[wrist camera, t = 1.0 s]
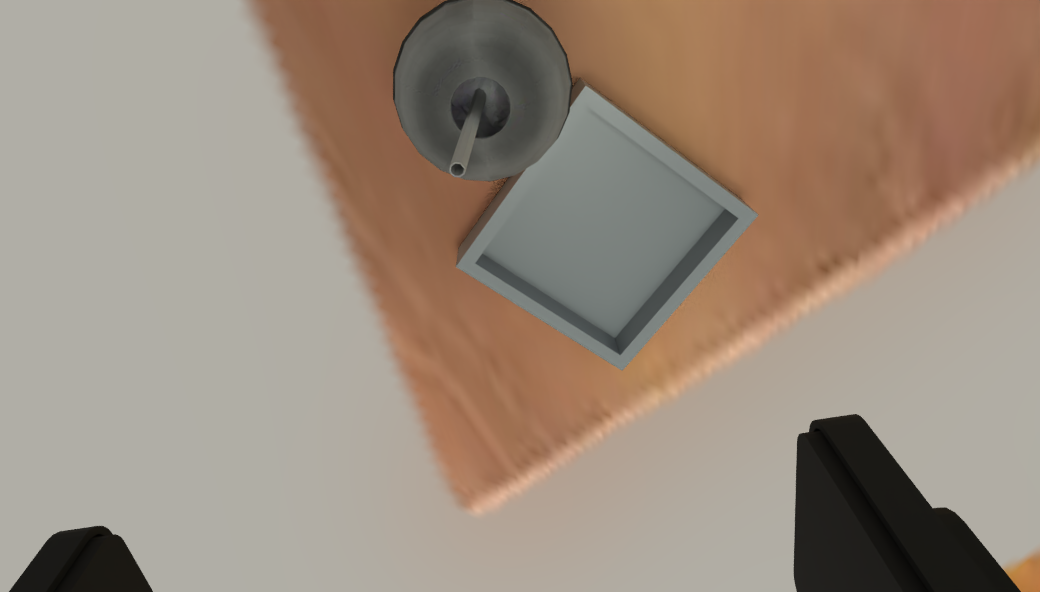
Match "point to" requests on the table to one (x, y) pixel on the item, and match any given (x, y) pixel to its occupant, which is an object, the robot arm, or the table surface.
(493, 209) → the tray
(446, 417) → the table surface
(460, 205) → the table surface
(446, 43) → the beverage cup
